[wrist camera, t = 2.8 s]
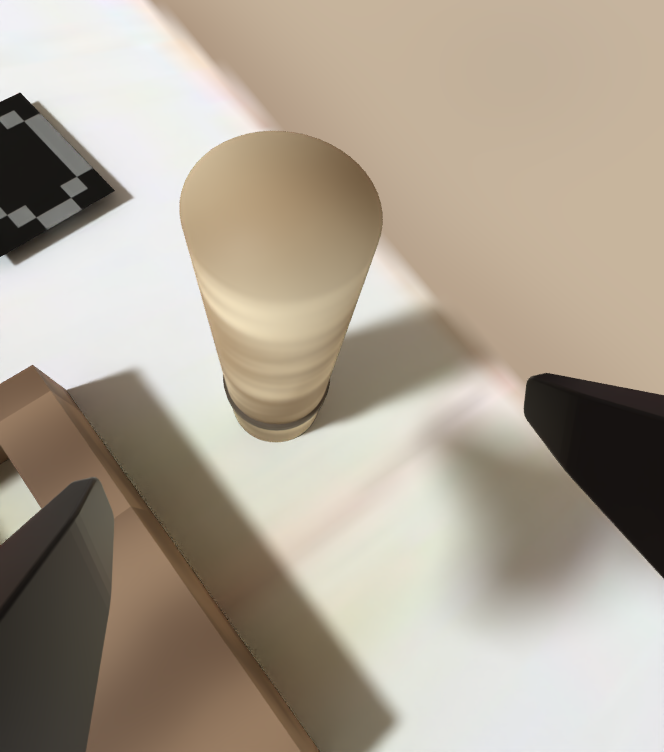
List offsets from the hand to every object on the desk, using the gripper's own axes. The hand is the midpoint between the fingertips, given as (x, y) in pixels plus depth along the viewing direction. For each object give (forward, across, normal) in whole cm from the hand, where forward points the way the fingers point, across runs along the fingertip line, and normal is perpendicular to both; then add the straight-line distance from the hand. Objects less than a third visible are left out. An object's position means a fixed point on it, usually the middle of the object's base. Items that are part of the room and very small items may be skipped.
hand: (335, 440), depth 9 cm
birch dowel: (+11, 0, +5) cm, 12 cm away
